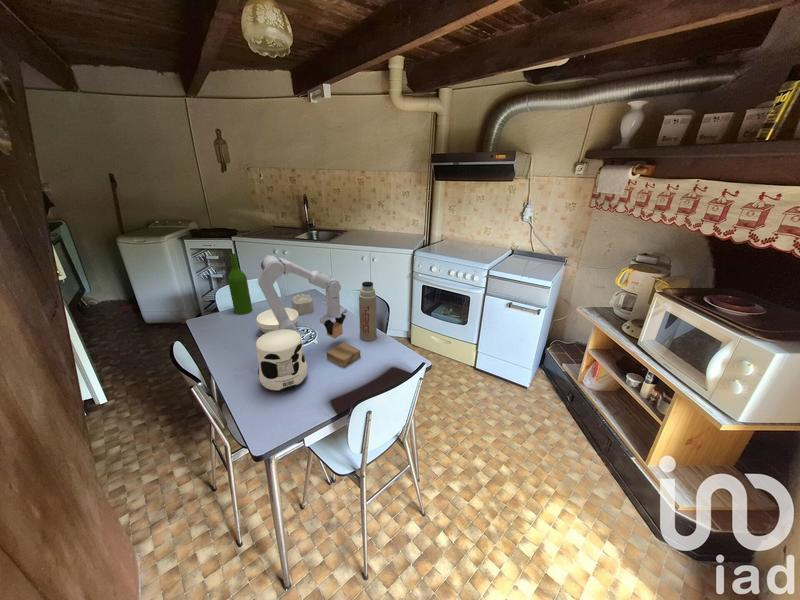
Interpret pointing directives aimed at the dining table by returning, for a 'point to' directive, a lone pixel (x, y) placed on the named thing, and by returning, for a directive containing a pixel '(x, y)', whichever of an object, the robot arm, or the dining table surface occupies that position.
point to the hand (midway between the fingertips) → (334, 331)
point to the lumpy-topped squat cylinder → (302, 304)
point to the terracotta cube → (336, 330)
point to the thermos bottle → (367, 312)
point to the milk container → (281, 360)
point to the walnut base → (343, 355)
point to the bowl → (274, 320)
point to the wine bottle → (239, 288)
